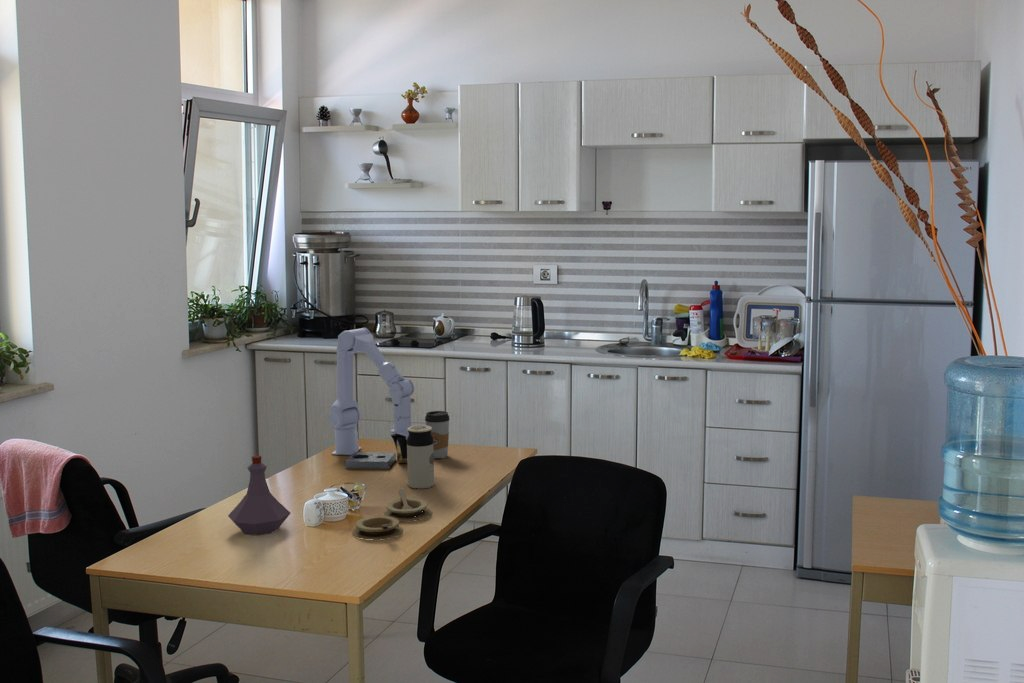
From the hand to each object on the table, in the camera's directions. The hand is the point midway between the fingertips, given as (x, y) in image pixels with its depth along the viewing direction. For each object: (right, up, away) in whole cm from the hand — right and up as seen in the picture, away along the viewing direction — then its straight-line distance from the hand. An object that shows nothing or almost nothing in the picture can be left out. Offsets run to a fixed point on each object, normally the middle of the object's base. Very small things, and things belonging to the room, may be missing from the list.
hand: (403, 456), depth 340 cm
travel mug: (+8, -6, -26) cm, 28 cm away
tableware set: (+4, -12, -62) cm, 63 cm away
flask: (-31, -12, -66) cm, 74 cm away
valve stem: (0, -2, 0) cm, 2 cm away
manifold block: (-11, -2, -1) cm, 11 cm away
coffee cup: (+11, -1, +8) cm, 14 cm away
